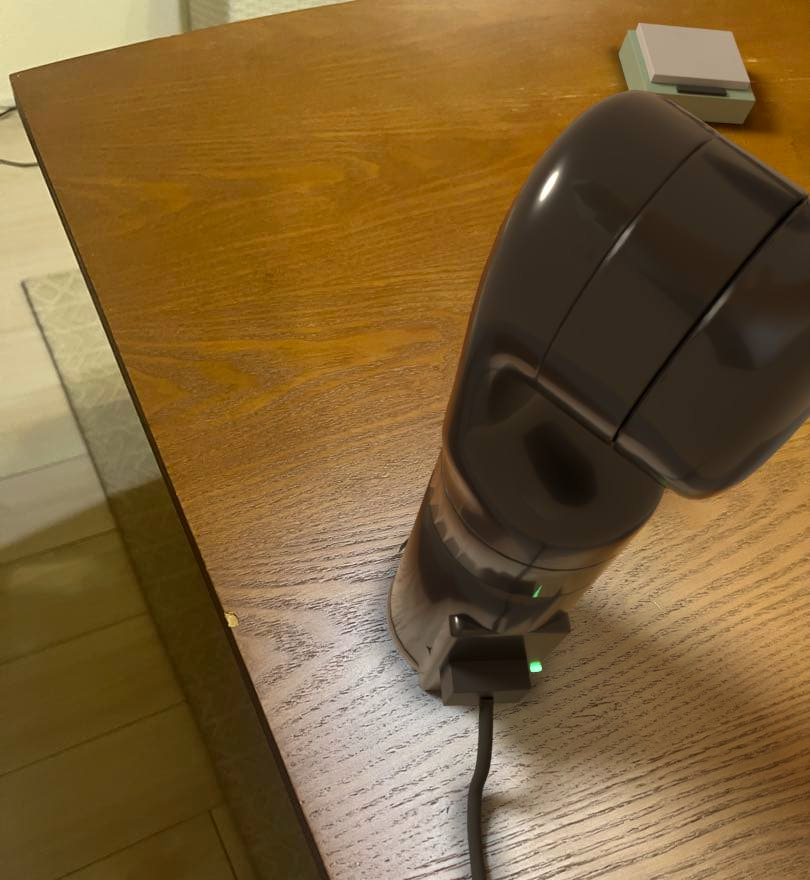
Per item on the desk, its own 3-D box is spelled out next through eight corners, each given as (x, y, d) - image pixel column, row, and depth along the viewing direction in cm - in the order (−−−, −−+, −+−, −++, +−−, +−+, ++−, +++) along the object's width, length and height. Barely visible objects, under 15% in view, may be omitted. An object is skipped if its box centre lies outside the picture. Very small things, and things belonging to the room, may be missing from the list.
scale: (742, 124, 77) (761, 92, 74) (635, 116, 76) (650, 83, 73) (720, 63, 81) (737, 30, 78) (618, 54, 79) (631, 20, 76)
